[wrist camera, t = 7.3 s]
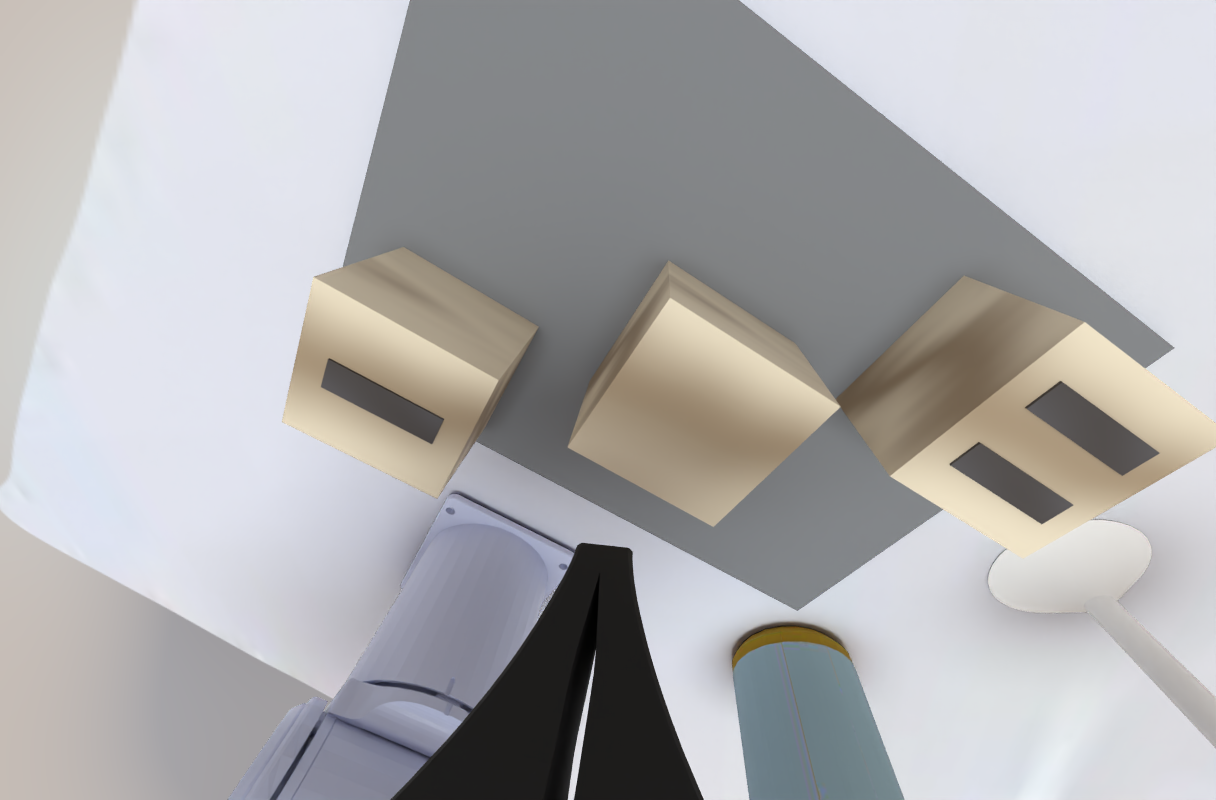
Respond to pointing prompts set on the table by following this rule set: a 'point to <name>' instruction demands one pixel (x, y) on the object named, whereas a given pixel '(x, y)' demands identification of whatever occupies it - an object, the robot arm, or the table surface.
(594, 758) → the robot arm
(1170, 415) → the two-bar birch block
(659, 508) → the charcoal rubber mat
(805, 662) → the bottle
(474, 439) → the one-bar birch block
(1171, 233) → the table surface
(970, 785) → the table surface
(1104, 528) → the champagne flute
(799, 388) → the plain birch block
